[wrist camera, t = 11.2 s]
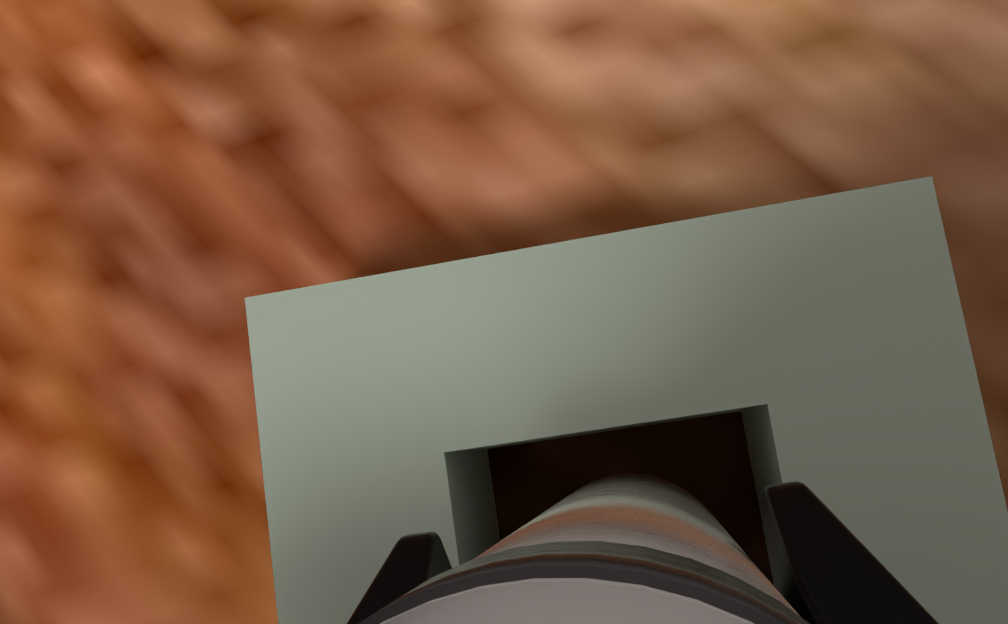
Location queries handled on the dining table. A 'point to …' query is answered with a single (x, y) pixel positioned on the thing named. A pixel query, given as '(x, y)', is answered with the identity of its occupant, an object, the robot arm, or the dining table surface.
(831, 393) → the block
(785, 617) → the metal cylinder
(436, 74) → the dining table surface
